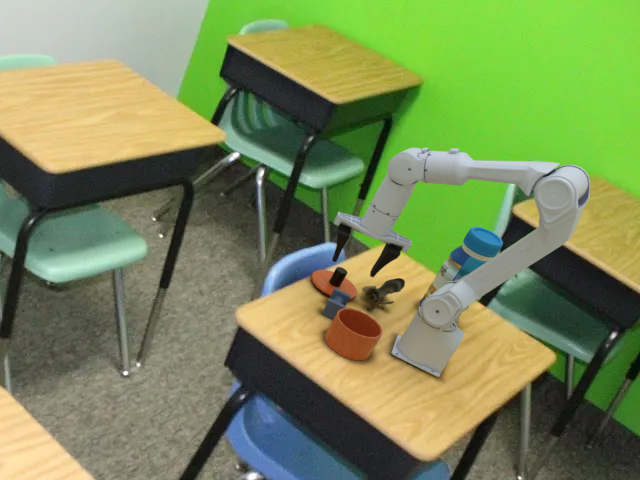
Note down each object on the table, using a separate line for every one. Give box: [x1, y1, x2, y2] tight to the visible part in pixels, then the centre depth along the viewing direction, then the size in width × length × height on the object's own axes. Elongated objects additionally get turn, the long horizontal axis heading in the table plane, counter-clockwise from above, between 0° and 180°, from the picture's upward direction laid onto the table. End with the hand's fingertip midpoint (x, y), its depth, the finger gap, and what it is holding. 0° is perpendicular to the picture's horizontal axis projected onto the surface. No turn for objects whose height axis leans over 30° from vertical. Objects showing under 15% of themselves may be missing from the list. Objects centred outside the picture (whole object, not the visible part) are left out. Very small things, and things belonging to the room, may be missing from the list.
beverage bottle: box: [418, 226, 504, 321], centre depth 188 cm, size 8×8×20 cm
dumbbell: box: [321, 288, 351, 320], centre depth 183 cm, size 6×3×3 cm, turn 152°
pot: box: [324, 307, 384, 361], centre depth 174 cm, size 9×9×5 cm
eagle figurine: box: [361, 277, 406, 311], centre depth 189 cm, size 8×7×9 cm
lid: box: [311, 266, 358, 301], centre depth 190 cm, size 10×10×4 cm
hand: (353, 267), depth 181 cm, fingers open, 7 cm apart
